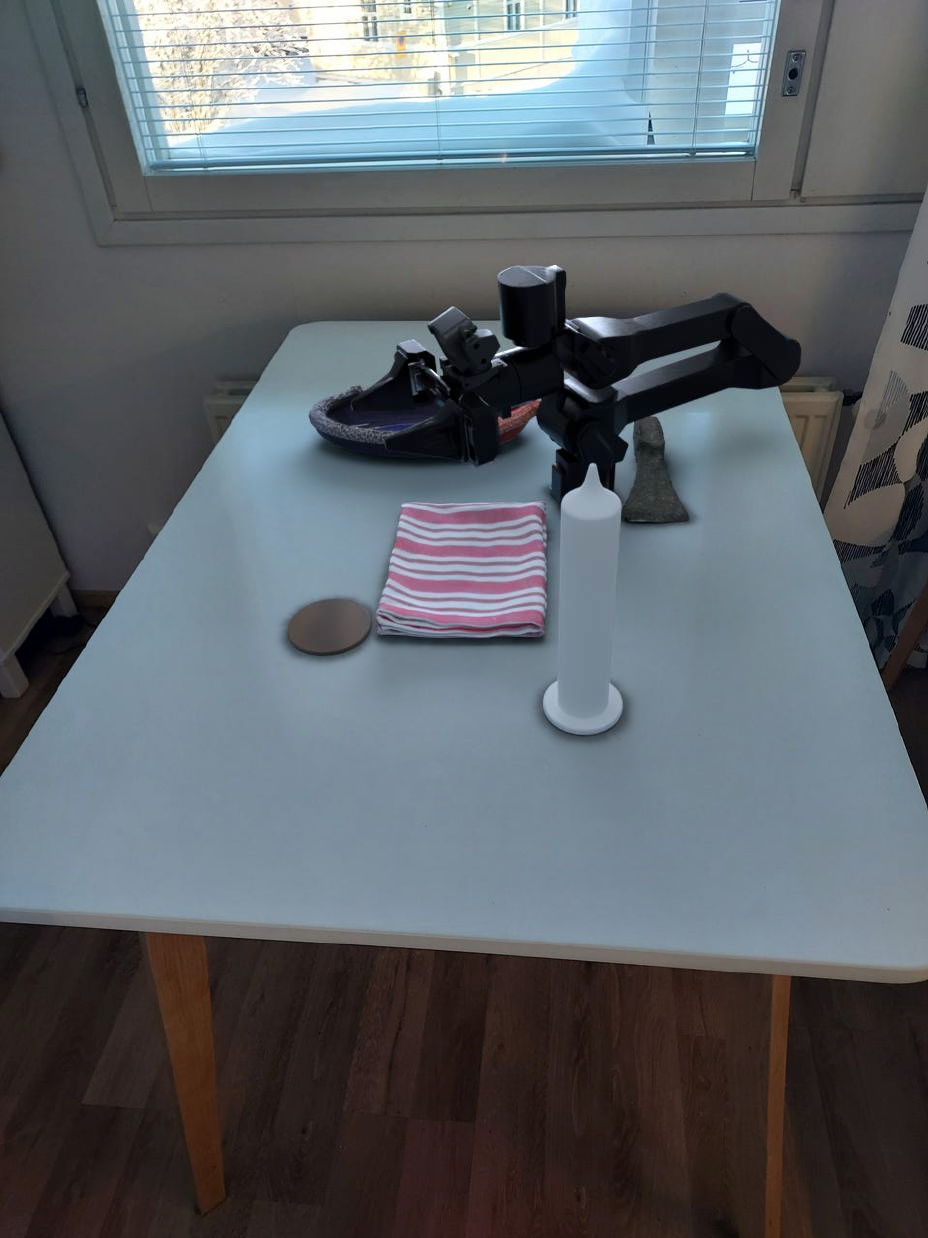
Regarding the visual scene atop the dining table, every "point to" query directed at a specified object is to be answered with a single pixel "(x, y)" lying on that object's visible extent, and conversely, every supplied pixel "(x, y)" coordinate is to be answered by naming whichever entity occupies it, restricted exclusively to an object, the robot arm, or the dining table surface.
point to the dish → (389, 423)
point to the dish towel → (467, 571)
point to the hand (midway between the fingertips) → (368, 424)
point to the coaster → (329, 626)
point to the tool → (652, 479)
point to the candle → (586, 611)
